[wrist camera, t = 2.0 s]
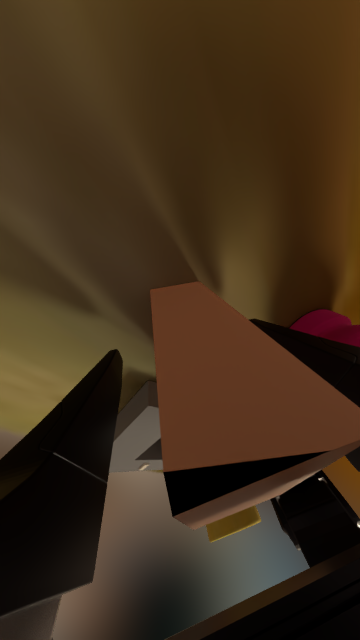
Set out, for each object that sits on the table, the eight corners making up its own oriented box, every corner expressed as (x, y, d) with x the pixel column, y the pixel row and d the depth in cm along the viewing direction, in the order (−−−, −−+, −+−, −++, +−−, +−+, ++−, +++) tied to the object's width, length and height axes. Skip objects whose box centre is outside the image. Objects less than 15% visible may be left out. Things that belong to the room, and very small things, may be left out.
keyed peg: (201, 344, 13) (280, 494, 5) (164, 352, 12) (193, 529, 5) (199, 281, 10) (386, 429, 2) (150, 289, 9) (166, 513, 2)
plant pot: (201, 456, 30) (222, 539, 22) (240, 447, 33) (272, 518, 24) (189, 473, 34) (203, 546, 26) (224, 464, 37) (246, 527, 29)
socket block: (230, 404, 20) (241, 425, 18) (174, 448, 24) (176, 470, 22) (147, 380, 14) (148, 408, 11) (89, 446, 18) (81, 476, 15)
